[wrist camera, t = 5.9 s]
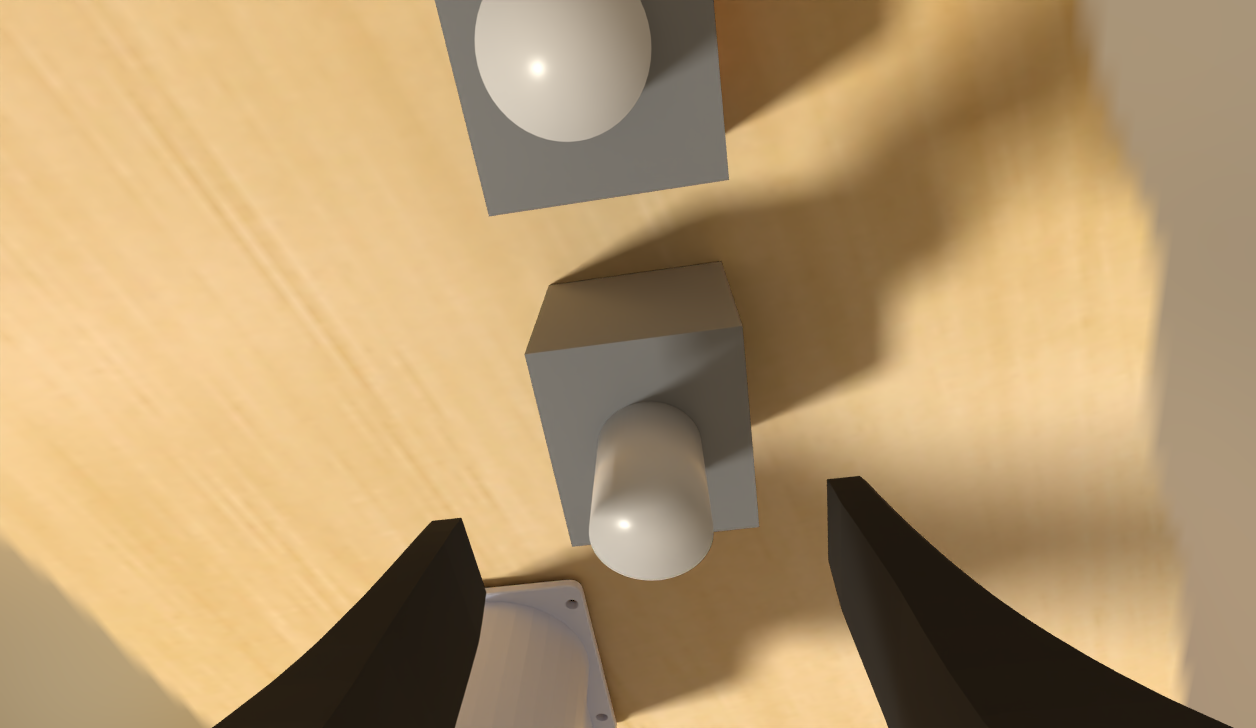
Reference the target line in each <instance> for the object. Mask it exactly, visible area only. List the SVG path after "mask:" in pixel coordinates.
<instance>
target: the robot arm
mask: <svg viewBox="0 0 1256 728" xmlns="http://www.w3.org/2000/svg"><path fill="white" fill-rule="evenodd" d="M827 507H828V560H829V564H830V568H831V572H832V576H833V580H834V583H835V587H836V591H837V594H838V598H839V602H840V605H841V609H842V612H843V614H844V617H845V619H846V622H847V625H848V627H849V630H850V632H851V635H852V637H853V640H854V642H855V645H856V647H857V650H858V652H859V655H860V657H861V660H862V662H863V665H864V667H865V670H866V672H867V675H868V677H869V680H870V682H871V685H872V687H873V690H874V692H875V695H876V697H877V700H878V702H879V705H880V707H881V710H882V712H883V715H884V717H885V720H886V722H887V725H888V728H1233V727H1231V726H1228V725H1226V724H1224V723H1222V722H1220V721H1217V720H1215V719H1213V718H1210V717H1208V716H1206V715H1204V714H1202V713H1199V712H1197V711H1195V710H1193V709H1191V708H1188V707H1186V706H1184V705H1182V704H1180V703H1177V702H1175V701H1173V700H1171V699H1169V698H1167V697H1165V696H1163V695H1161V694H1159V693H1157V692H1155V691H1153V690H1151V689H1149V688H1147V687H1145V686H1143V685H1141V684H1139V683H1137V682H1135V681H1133V680H1131V679H1129V678H1127V677H1125V676H1123V675H1122V674H1120V673H1118V672H1116V671H1114V670H1112V669H1110V668H1109V667H1107V666H1105V665H1103V664H1101V663H1099V662H1098V661H1096V660H1094V659H1092V658H1090V657H1089V656H1087V655H1085V654H1084V653H1082V652H1080V651H1079V650H1077V649H1075V648H1074V647H1072V646H1070V645H1069V644H1067V643H1065V642H1063V641H1062V640H1060V639H1058V638H1057V637H1055V636H1053V635H1052V634H1050V633H1048V632H1047V631H1045V630H1044V629H1042V628H1041V627H1039V626H1037V625H1036V624H1034V623H1033V622H1031V621H1030V620H1028V619H1027V618H1025V617H1024V616H1022V615H1021V614H1019V613H1018V612H1016V611H1015V610H1014V609H1012V608H1011V607H1009V606H1008V605H1006V604H1005V603H1003V602H1002V601H1001V600H999V599H998V598H996V597H995V596H994V595H992V594H991V593H990V592H988V591H987V590H986V589H984V588H983V587H982V586H981V585H979V584H978V583H977V582H975V581H974V580H973V579H972V578H970V577H969V576H968V575H967V574H965V573H964V572H963V571H962V570H961V569H959V568H958V567H957V566H956V565H954V564H953V563H952V562H951V561H950V560H948V559H947V558H946V557H945V556H944V555H943V554H941V553H940V552H939V551H938V550H937V549H936V548H935V547H934V546H932V545H931V544H930V543H929V542H928V541H927V540H926V539H925V538H924V537H922V536H921V535H920V534H919V533H918V532H917V531H916V530H915V529H914V528H913V527H911V526H910V525H909V524H908V523H907V522H906V521H905V520H904V519H903V518H902V517H901V516H900V515H899V514H898V513H897V512H896V511H895V510H894V509H893V508H892V507H891V506H890V505H889V504H888V503H887V502H886V501H885V500H884V499H883V498H882V497H881V496H880V495H879V494H878V493H877V492H876V491H875V490H874V489H873V488H872V487H871V486H870V485H869V484H868V483H867V482H866V481H865V480H864V479H863V478H862V477H860V476H855V477H845V478H836V479H827ZM569 600H575V602H572V601H569ZM212 728H617V723H616V719H615V715H614V711H613V707H612V703H611V699H610V695H609V691H608V687H607V683H606V679H605V675H604V671H603V667H602V663H601V659H600V655H599V651H598V647H597V643H596V639H595V635H594V631H593V627H592V623H591V619H590V615H589V611H588V607H587V603H586V599H585V595H584V591H583V587H582V585H581V584H580V583H579V582H577V581H575V580H560V581H550V582H540V583H530V584H521V585H511V586H501V587H492V588H485V587H484V584H483V581H482V578H481V575H480V572H479V569H478V566H477V563H476V560H475V557H474V554H473V551H472V548H471V545H470V542H469V539H468V536H467V533H466V530H465V527H464V524H463V521H462V518H455V519H446V520H436V521H432V522H431V523H430V524H429V525H428V526H427V527H426V528H425V529H424V530H423V531H422V532H421V533H420V534H419V536H418V537H417V538H416V539H415V540H414V541H413V542H412V543H411V544H410V546H409V547H408V548H407V549H406V550H405V551H404V552H403V553H402V555H401V556H400V557H399V558H398V559H397V560H396V561H395V562H394V563H393V565H392V566H391V567H390V568H389V569H388V570H387V571H386V572H385V573H384V574H383V576H382V577H381V578H380V579H379V580H378V581H377V582H376V583H375V584H374V585H373V586H372V587H371V589H370V590H369V591H368V592H367V593H366V594H365V595H364V596H363V597H362V598H361V599H360V600H359V601H358V602H357V603H356V604H355V605H354V606H353V607H352V608H351V609H350V610H349V611H348V612H347V613H346V614H345V615H344V616H343V617H342V618H341V619H340V620H339V621H338V622H337V623H336V624H335V625H334V626H333V627H332V628H331V629H330V630H329V631H328V632H327V633H326V634H325V635H324V636H323V637H322V638H321V639H320V640H319V641H318V642H317V643H316V644H315V645H314V646H313V647H312V648H310V649H309V650H308V651H307V652H306V653H305V654H304V655H303V656H302V657H300V658H299V659H298V660H297V661H296V662H295V663H294V664H292V665H291V666H290V667H289V668H288V669H287V670H285V671H284V672H283V673H282V674H281V675H280V676H278V677H277V678H276V679H275V680H274V681H272V682H271V683H270V684H269V685H267V686H266V687H265V688H264V689H262V690H261V691H260V692H258V693H257V694H256V695H255V696H253V697H252V698H251V699H249V700H248V701H247V702H245V703H244V704H243V705H241V706H240V707H239V708H238V709H236V710H235V711H234V712H232V713H231V714H230V715H228V716H227V717H226V718H224V719H223V720H222V721H221V722H219V723H218V724H216V725H215V726H214V727H212Z"/></svg>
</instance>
